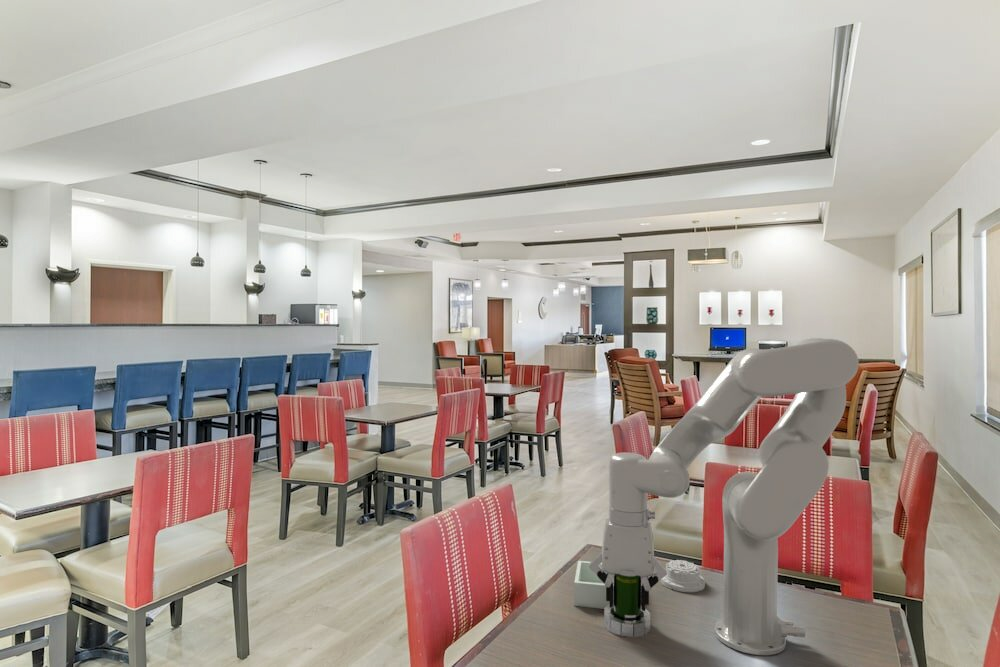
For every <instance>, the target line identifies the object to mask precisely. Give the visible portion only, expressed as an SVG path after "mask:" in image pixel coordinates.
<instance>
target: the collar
mask: <svg viewBox="0 0 1000 667" xmlns="http://www.w3.org/2000/svg"><path fill="white" fill-rule="evenodd" d="M609 606H610V604H609V605H608V606H606V607H605V608H604V611H603V626H604V628H606V629H607V630H608V632H610V633H612V634H615V635H618V636H620V637H624V636H627V638H639V636H640V637H643V636H646V635H648V633H650V632H651V623H652V622H651V612H650V610H648V609H647V608H645V611H643V610H642V609H641V619H640V620H636V621H625V620H621V619H618V618H615V617H614V616H613V613H614V603H613V607H612V608H610V607H609Z"/></svg>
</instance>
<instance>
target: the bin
mask: <svg viewBox="0 0 1000 667" xmlns="http://www.w3.org/2000/svg"><path fill="white" fill-rule="evenodd" d="M590 562H591V561H584V560H577V565H576V570H575V575H574V576H575V577H574V583H573V584H574V588H573V606H575V607H584V608H593V609H601V610H602V609H604V608H605V607H606V606H608V605H609V604H610V601H606V586H605V584H604V583H603V582H602V581H601V580H600V579H599V578H598V576H597V575H596V574H595V573H594V572H593V571H592V570H591V569H590V568H589V565H590ZM598 566H599V567H600V569H602V570H603V568H602V562H601V563H600V564H599V565H598ZM603 571H604V570H603ZM604 572H605V571H604ZM605 573H606V574H607V572H605ZM612 583H613V603H614V578H613V581H612Z"/></svg>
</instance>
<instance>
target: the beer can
mask: <svg viewBox="0 0 1000 667" xmlns="http://www.w3.org/2000/svg"><path fill="white" fill-rule="evenodd" d="M641 586H642V580H641V577H640V576H637V575H636V574H635V573H634V571H633V570H621V572H620V573H619V574H615V576H614V613H613V616H614V617H615V618H618V619H621V620H625V621H636V620H640V619H641Z"/></svg>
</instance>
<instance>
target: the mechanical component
mask: <svg viewBox="0 0 1000 667" xmlns="http://www.w3.org/2000/svg"><path fill="white" fill-rule="evenodd" d="M665 569H666V571H667V575H666V576H665V577H663V578H662V579H661V581H660V583H661V584H662V585H663V586H664V587H666V588H668V589H670V590H672V589H673V591H676V592H683V593H697V592H700V591H703V590H704V589H705V588H706V582H705V578H704V577H703V576H702V575H700V567H699V565H696V564H694V562H691V561H687V560H682V559H680V560H679V559H676V560H669V562H665Z"/></svg>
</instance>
